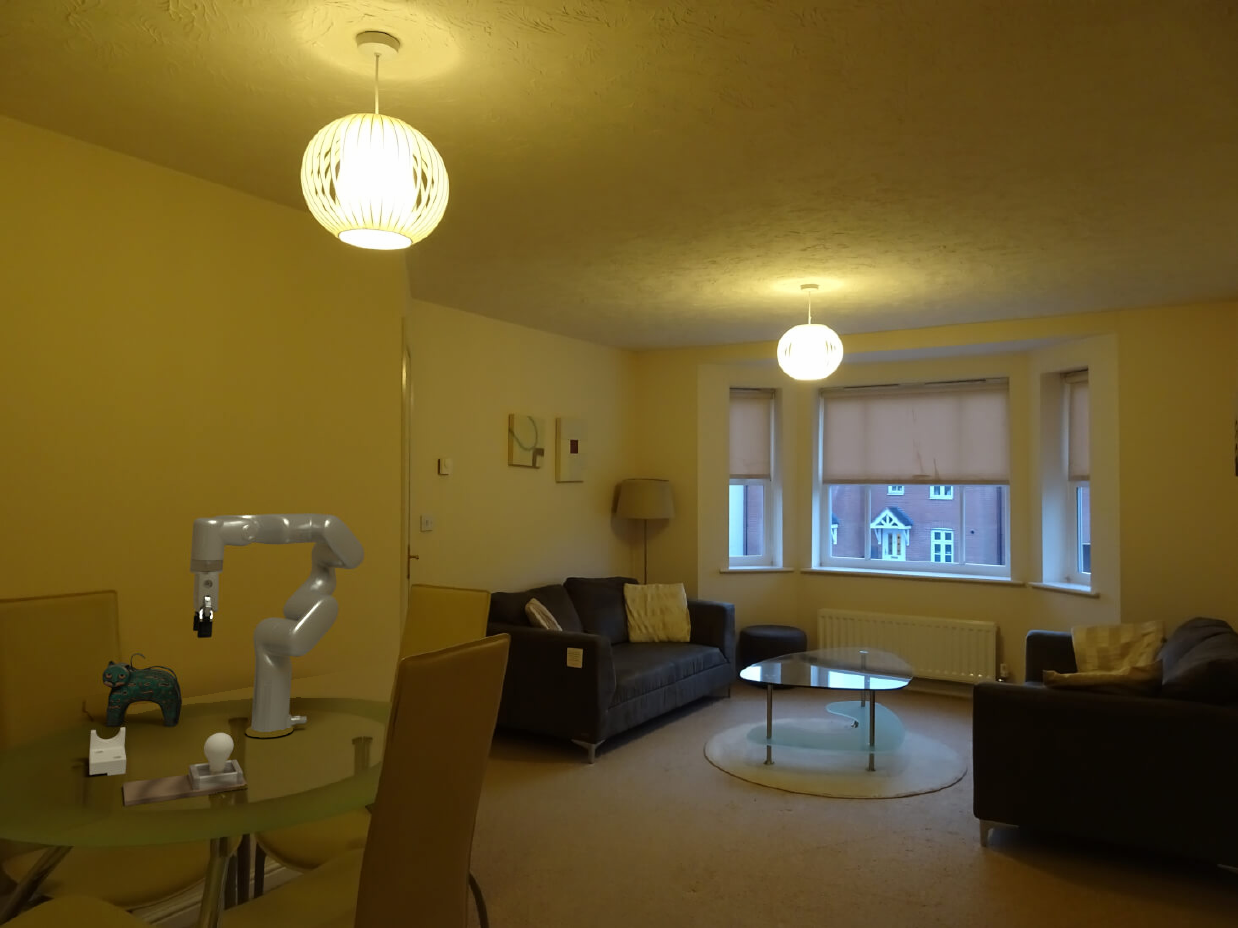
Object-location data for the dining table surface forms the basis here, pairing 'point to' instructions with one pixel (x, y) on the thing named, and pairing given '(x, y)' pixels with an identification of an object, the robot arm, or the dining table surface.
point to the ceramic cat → (141, 691)
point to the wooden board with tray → (184, 784)
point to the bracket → (107, 754)
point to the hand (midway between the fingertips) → (202, 633)
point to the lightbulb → (218, 751)
